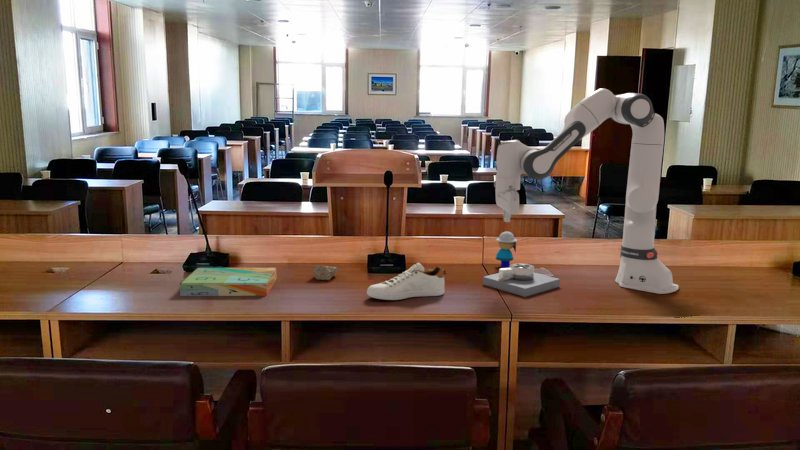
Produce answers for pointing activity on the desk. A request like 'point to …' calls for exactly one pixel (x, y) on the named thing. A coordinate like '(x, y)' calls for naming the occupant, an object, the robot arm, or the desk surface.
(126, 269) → the desk surface
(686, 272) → the desk surface
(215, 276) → the box
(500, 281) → the panel
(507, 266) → the toy
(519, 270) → the dial
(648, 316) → the desk surface
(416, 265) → the Shoe
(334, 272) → the rock
